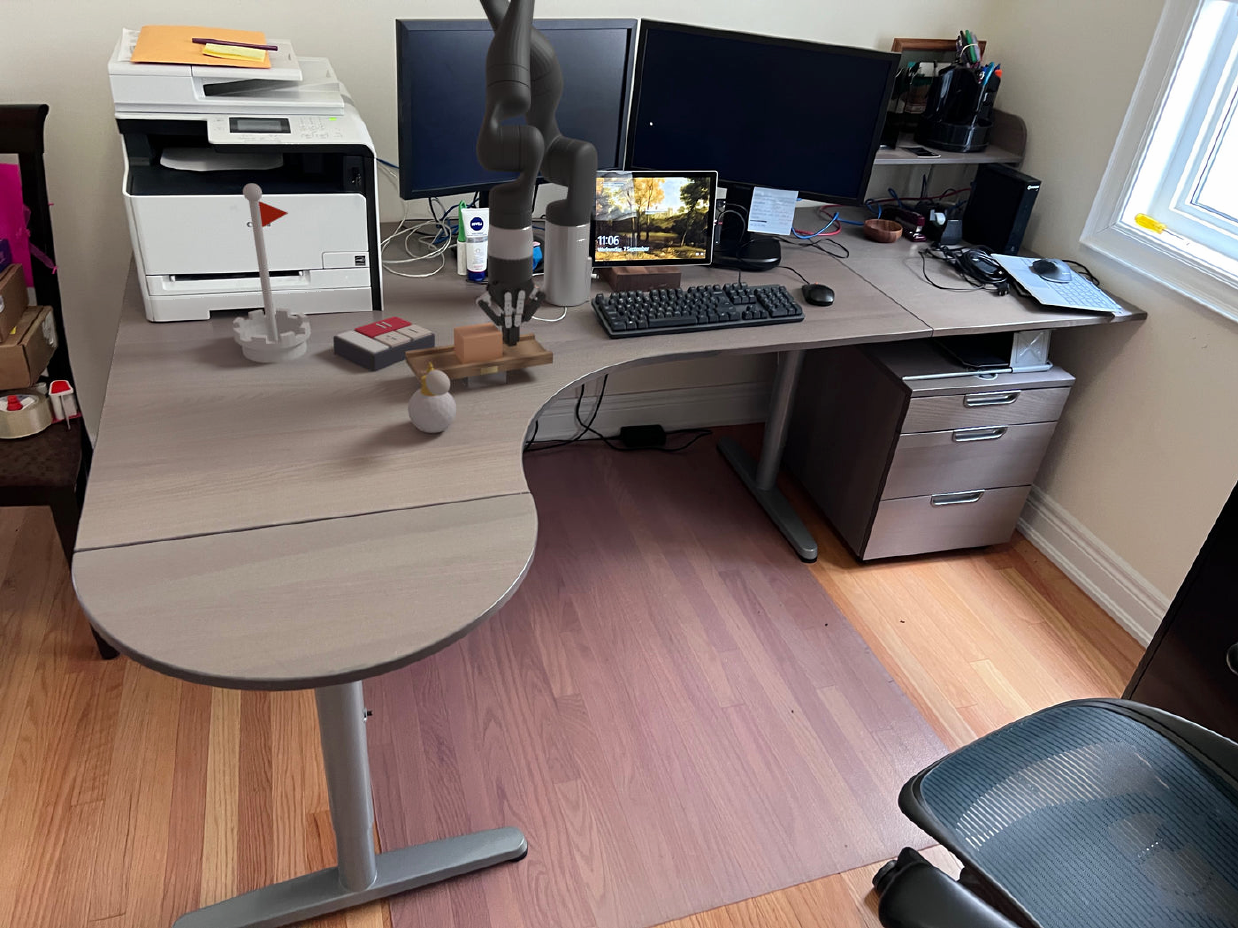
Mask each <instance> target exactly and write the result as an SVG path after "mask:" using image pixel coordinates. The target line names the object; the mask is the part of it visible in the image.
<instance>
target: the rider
mask: <svg viewBox="0 0 1238 928" xmlns="http://www.w3.org/2000/svg"><path fill="white" fill-rule="evenodd" d="M453 345H454V353H455V355H456V356H457V358H458V359H459V360H460V361H461V362H462V364H468V363H474V362H481V361H487V360H494V359H500V358H502V330H500V329H499V328H498V326H497V325H496V324H495V323H494V322H493V321H491V322H487V323H486V322H485V323H479V324H477V323H476V324H470V325H463V326H454V327H453Z"/></svg>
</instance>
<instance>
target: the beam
mask: <svg viewBox="0 0 1238 928" xmlns="http://www.w3.org/2000/svg"><path fill="white" fill-rule="evenodd" d="M405 355H406V359H405V363H406V364H407V366H408V367H409V368H410V370H411V371H412V373H413V374H414V375H415V377H416V378H417V380H418V381H419V382H420V384H421V385H422V377H423V376H425V375H427V368H428V364H429V362H431V364H432V365H433V367H432V368H434V370H439V371H442V372H443V373H445V374H446V375H447V376H448V378H449V380H450V381H452V380H458V379H459V380H460V381H461V382H462V383H463V385H464V386H465V387H466V388H467V390H473V389H480V388H484V387H485V388H486V387H490V386H497V385H502V384H503V385H504V384H507V371H513V370H518V369H519V370H520V369H526V368H530V367H531V368H532V367H537V366H543V365H545V366H546V365H550V364H553V361H554V352H553V351H552V350H546V349H545V347H543V346H542V344H541V343H540V342H539V341H538V340H536V334H534V332H531V333H525V334H520V340H519V342H517V345H516V346H510V347H508V346H507V345H506V344H505V343H504V341H503V340H502V358H500V359H494V360H487V361H481V362H474V363H468V364H462V362H461V361H460V360H459V359H458V358H457V356H456V355H455V353H454V344H449V345H448V344H447V345H441V346H435V347H433V348H426V349H419V350H412V351H405Z"/></svg>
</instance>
